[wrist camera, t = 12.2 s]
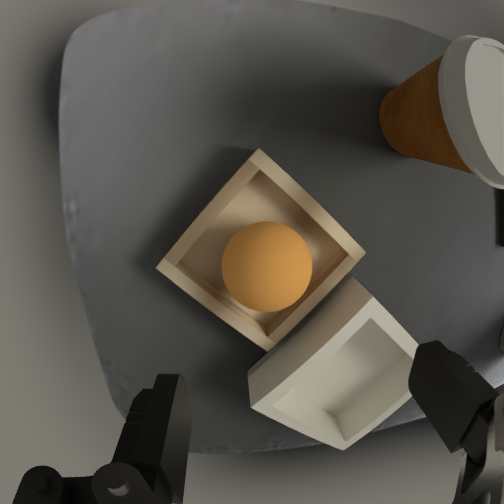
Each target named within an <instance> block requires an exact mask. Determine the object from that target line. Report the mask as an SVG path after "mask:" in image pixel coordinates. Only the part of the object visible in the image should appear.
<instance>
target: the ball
mask: <svg viewBox="0 0 504 504" xmlns="http://www.w3.org/2000/svg"><path fill="white" fill-rule="evenodd" d="M221 268H222V277H223V280H224V283H225V285H226V287H227V289H228V291H229V293H230V294H231V295H232V296H233V298H234V299H236V300H237V301H238V302H239V303H240V304H242V305H243V306H245V307H247V308H249V309H252V310H255V311H260V312H274V311H279V310H282V309H284V308H287V307H288V306H290V305H292V304H293V303H295V302H296V301H297V300H298V299H299V298H300V297H301V296H302V295H303V293H304V292H305V290H306V289H307V287H308V285H309V282H310V279H311V274H312V259H311V254H310V251H309V249H308V247H307V245H306V243H305V241H304V240H303V239H302V237H301V236H300V235H299V234H298V233H297V232H295V231H294V230H293V229H291V228H290V227H288V226H286V225H284V224H281V223H277V222H271V221H263V222H257V223H253V224H250V225H248V226H246V227H244V228H242V229H241V230H240V231H238V232H237V233H236V234H235V235H234V236H233V237H232V238H231V239H230V241H229V242H228V244H227V246H226V248H225V250H224V253H223V257H222V264H221Z"/></svg>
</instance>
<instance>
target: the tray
mask: <svg viewBox="0 0 504 504" xmlns="http://www.w3.org/2000/svg"><path fill="white" fill-rule="evenodd" d="M263 221H271V222H277V223H281V224H284V225H286V226H288V227H290V228H291V229H293V230H294V231H295V232H297V233H298V234H299V235H300V236H301V237H302V239H303V240H304V241H305V243H306V245H307V247H308V249H309V251H310V254H311V259H312V274H311V279H310V282H309V285H308V287H307V289H306V290H305V292H304V293H303V295H302V296H301V297H300V298H299V299H298V300H297V301H296V302H295V303H293V304H292V305H290V306H288V307H287V308H284V309H282V310H279V311H274V312H260V311H255V310H252V309H249V308H247V307H245V306H243V305H242V304H240V303H239V302H238V301H237V300H236V299H234V298H233V296H232V295H231V294H230V293H229V291H228V289H227V287H226V285H225V283H224V280H223V277H222V268H221V264H222V257H223V253H224V250H225V248H226V246H227V244H228V242H229V241H230V239H231V238H232V237H233V236H234V235H235V234H236V233H237V232H238V231H240V230H241V229H242V228H244V227H246V226H248V225H250V224H253V223H257V222H263ZM365 253H366V252H365V251H364V250H363V249H362V248H361V247H360V246H359V245H358V244H357V243H356V242H355V241H354V240H353V238H352V237H351V236H350V235H349V234H348V233H347V232H346V231H345V230H344V229H343V228H342V227H341V226H340V225H339V224H338V223H337V222H336V221H335V220H334V219H333V218H332V217H331V216H330V215H329V214H328V213H327V212H326V211H325V210H324V209H323V208H322V207H321V206H320V205H319V204H318V203H317V202H316V201H315V200H314V199H313V198H312V197H311V196H310V195H309V194H308V193H307V192H306V191H305V190H304V189H303V188H302V187H301V186H300V185H299V184H298V183H297V182H295V181H294V180H293V179H292V178H291V177H290V176H289V175H288V174H287V173H286V172H285V171H284V170H283V169H282V168H280V167H279V166H278V165H277V164H276V163H275V162H274V161H273V160H272V159H271V158H269V157H268V156H267V155H266V154H265V153H264V152H263V151H262V150H261V149H259V148H258V149H257V150H256V151H255V152H254V153H253V154H252V155H251V156H250V157H249V158H248V159H247V160H246V161H245V163H244V164H243V165H242V166H241V167H240V168H239V169H238V170H237V171H236V172H235V174H234V175H233V176H232V177H231V178H230V179H229V180H228V181H227V183H226V184H225V185H224V186H223V187H222V188H221V189H220V190H219V192H218V193H217V194H216V195H215V196H214V197H213V198H212V200H211V201H210V202H209V203H208V204H207V205H206V207H205V208H204V209H203V210H202V211H201V212H200V214H199V215H198V216H197V217H196V218H195V220H194V221H193V222H192V223H191V224H190V225H189V227H188V228H187V229H186V230H185V231H184V233H183V234H182V235H181V236H180V238H179V239H178V240H177V241H176V242H175V244H174V245H173V246H172V247H171V249H170V250H169V251H168V252H167V254H166V255H165V256H164V257H163V259H162V260H161V262H160V263H159V264H158V266H157V267H156V269H158V270H159V271H160V272H161V273H163V274H164V275H165V276H166V277H168V278H169V279H170V280H171V281H173V282H174V283H175V284H176V285H178V286H179V287H180V288H181V289H183V290H184V291H185V292H187V293H188V294H189V295H190V296H192V297H193V298H194V299H196V300H197V301H198V302H200V303H201V304H202V305H204V306H205V307H206V308H208V309H209V310H210V311H212V312H213V313H214V314H216V315H217V316H218V317H220V318H221V319H222V320H224V321H225V322H226V323H228V324H229V325H231V326H232V327H233V328H235V329H236V330H237V331H239V332H240V333H242V334H243V335H244V336H246V337H247V338H249V339H250V340H251V341H253V342H254V343H256V344H257V345H259V346H260V347H262V348H263V349H264V350H266V351H267V352H268V351H269V350H270V349H271V348H272V347H274V346H275V345H276V344H277V343H278V342H279V341H280V340H281V339H282V338H283V337H284V336H285V335H286V334H287V333H288V332H290V331H291V330H292V329H293V328H294V327H295V326H296V325H297V324H298V323H299V322H300V321H301V320H302V319H303V318H304V317H305V316H306V315H307V314H308V313H309V312H310V311H311V310H312V309H313V308H314V307H315V306H316V305H317V304H318V303H319V302H320V301H321V300H322V299H323V298H324V297H325V296H326V295H327V294H328V293H329V292H330V291H331V290H332V289H333V288H334V287H335V286H336V285H337V284H338V283H339V281H340V280H341V279H342V278H343V277H344V276H345V275H346V274H347V273H348V272H349V271H350V270H351V269H352V268H353V267H354V265H355V264H356V263H357V262H358V261H359V260H360V259H361V258H362V257H363V256H364V255H365Z"/></svg>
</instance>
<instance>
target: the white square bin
mask: <svg viewBox="0 0 504 504" xmlns="http://www.w3.org/2000/svg"><path fill="white" fill-rule="evenodd" d="M418 346H419V345H418V344H417V343H416V341H415V340H414V339H413V338H412V337H411V336H410V335H409V334H408V333H407V332H406V331H405V330H404V328H403V327H402V326H401V325H400V324H399V323H398V322H397V321H396V320H395V319H394V318H393V317H392V316H391V315H390V314H389V313H388V311H387V310H386V309H385V308H384V307H383V306H382V305H381V304H380V303H379V302H378V301H377V300H376V299H375V298H374V297H373V296H372V295H371V294H370V293H369V292H368V291H367V290H366V289H365V288H364V287H363V286H362V285H361V284H360V283H359V282H358V281H357V280H356V279H355V278H353V277H352V276H351V275H350V274H349V273H348V274H347V275H346V276H345V277H344V278H343V279H342V280H341V281H340V282H339V284H338V285H337V286H336V287H335V288H334V289H333V290H332V291H331V292H330V293H329V294H328V295H327V296H326V297H325V298H324V299H323V300H322V301H321V302H320V303H319V304H318V305H317V306H316V307H315V308H314V309H313V310H312V311H311V312H310V313H309V314H308V315H307V316H306V317H305V318H304V319H303V320H302V321H301V322H300V323H299V324H298V325H297V326H296V327H295V328H294V329H293V330H292V331H290V332H289V333H288V334H287V335H286V336H285V337H284V338H283V339H282V340H281V341H280V342H279V343H278V344H277V345H276V346H275V347H273V348H272V349H271V350H270V351H269V352H268V353H267V354H266V355H265V356H264V357H262V358H261V359H260V360H259V361H258V362H257V363H256V364H255V365H254V366H252V367H251V368H250V369H249V370H248V371H247V375H248V385H249V396H250V406H251V408H252V409H254V410H256V411H258V412H260V413H262V414H264V415H266V416H268V417H270V418H272V419H274V420H276V421H278V422H280V423H282V424H284V425H286V426H288V427H290V428H292V429H294V430H296V431H298V432H301V433H303V434H305V435H307V436H310V437H312V438H314V439H316V440H319V441H321V442H323V443H326V444H328V445H331V446H333V447H336V448H338V449H340V450H345V449H346V448H347V447H349V446H350V445H352V444H353V443H355V442H356V441H357V440H358V439H360V438H361V437H363V436H364V435H366V434H367V433H368V432H370V431H371V430H372V429H374V428H375V427H376V426H377V425H379V424H380V423H381V422H383V421H384V420H385V419H386V418H387V417H389V416H390V415H391V414H392V413H394V412H395V411H396V410H397V409H398V408H399V407H401V406H402V405H403V404H404V403H405V402H406V401H407V400H409V399H410V398H411V397H412V395H411V393H410V391H409V388H408V378H409V374H410V370H411V367H412V363H413V360H414V356H415V352H416V349H417V347H418Z"/></svg>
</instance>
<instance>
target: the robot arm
mask: <svg viewBox="0 0 504 504" xmlns="http://www.w3.org/2000/svg"><path fill="white" fill-rule="evenodd" d="M500 349H501V351H503V352H504V328H503V331H502V333H501V337H500ZM408 388H409V391H410V393H411V395H412V396H413V398H414V399H415V400H416V402H417V403H418V405H419V406H420V408H421V409H422V411H423V412H424V413H425V415H426V416H427V418H428V419H429V421H430V422H431V424H432V425H433V427H434V428H435V430H436V431H437V433H438V434H439V436H440V437H441V438H442V440H443V441H444V443H445V445H446V446H447V448H448V449H449V451H450V452H451V453H453V452H455V451H457V450H459V449H461V448H464V450H465V452H464V453H463V455H462V460H461V466H460V472H459V478H458V483H457V488H456V493H455V497H454V500H453V503H452V504H504V394H501V395H500V394H498V392H497V391H496V390H495V389H494V388H493V387H492V386H491V385H490V384H489V383H488V382H487V381H486V380H485V379H484V378H483V377H482V376H481V375H480V374H479V373H478V372H476V370H475V369H474V368H473V367H472V366H469V363H468V362H467V361H466V360H465V359H464V358H463V357H462V356H460V355H458V354H456V353H454V352H452V351H450V350H448V349H447V348H446V347H445V346H444V345H443V344H442V343H441V342H440V341H438V340H435V341H432V342H428V343H424V344H420V345H419V346H418V347H417V349H416V352H415V356H414V360H413V363H412V367H411V370H410V374H409V378H408ZM191 426H192V412H191V406H190V402H189V399H188V395H187V391H186V387H185V383H184V379H183V376H182V374H158V375H157V377H156V380H155V384H154V387H153V389H143V390H142V391H141V392H140V393H139V394H138V395H137V396H136V397H135V398H134V399H133V402H132V404H131V407H130V410H129V413H128V415H127V418H126V423H125V424H124V427H123V429H122V433H121V435H120V438H119V441H118V444H117V447H116V450H115V453H114V456H113V459H112V461H111V463H109V464H106V465H104V466H102V467H100V468H99V469H98V470H97V471H96V472H95V473H94V475H93V476H87V477H61V475H60V474H59V473H58V472H57V471H56V470H55V469H53V468H51V467H48V466H36V467H33V468H31V469H30V470H28V471H27V472H26V473H25V474H24V476H23V478H22V480H21V483H20V485H19V487H18V490H17V493H16V495H15V498H14V500H13V503H12V504H172V503H175V504H182V503H183V495H184V485H185V476H186V467H187V459H188V450H189V442H190V434H191Z"/></svg>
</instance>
